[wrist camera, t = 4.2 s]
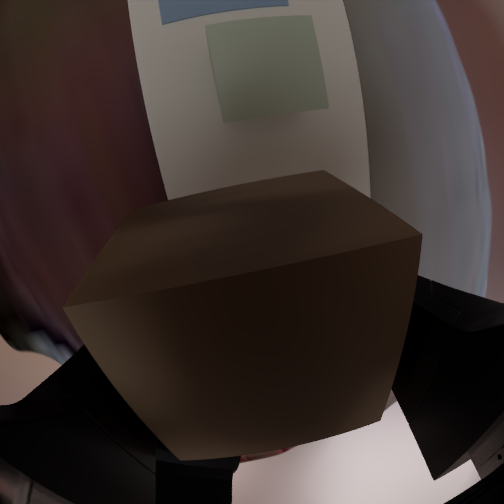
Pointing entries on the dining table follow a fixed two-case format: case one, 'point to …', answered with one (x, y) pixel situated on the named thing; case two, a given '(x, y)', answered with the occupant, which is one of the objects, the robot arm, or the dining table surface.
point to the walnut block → (252, 313)
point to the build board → (248, 130)
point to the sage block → (266, 66)
